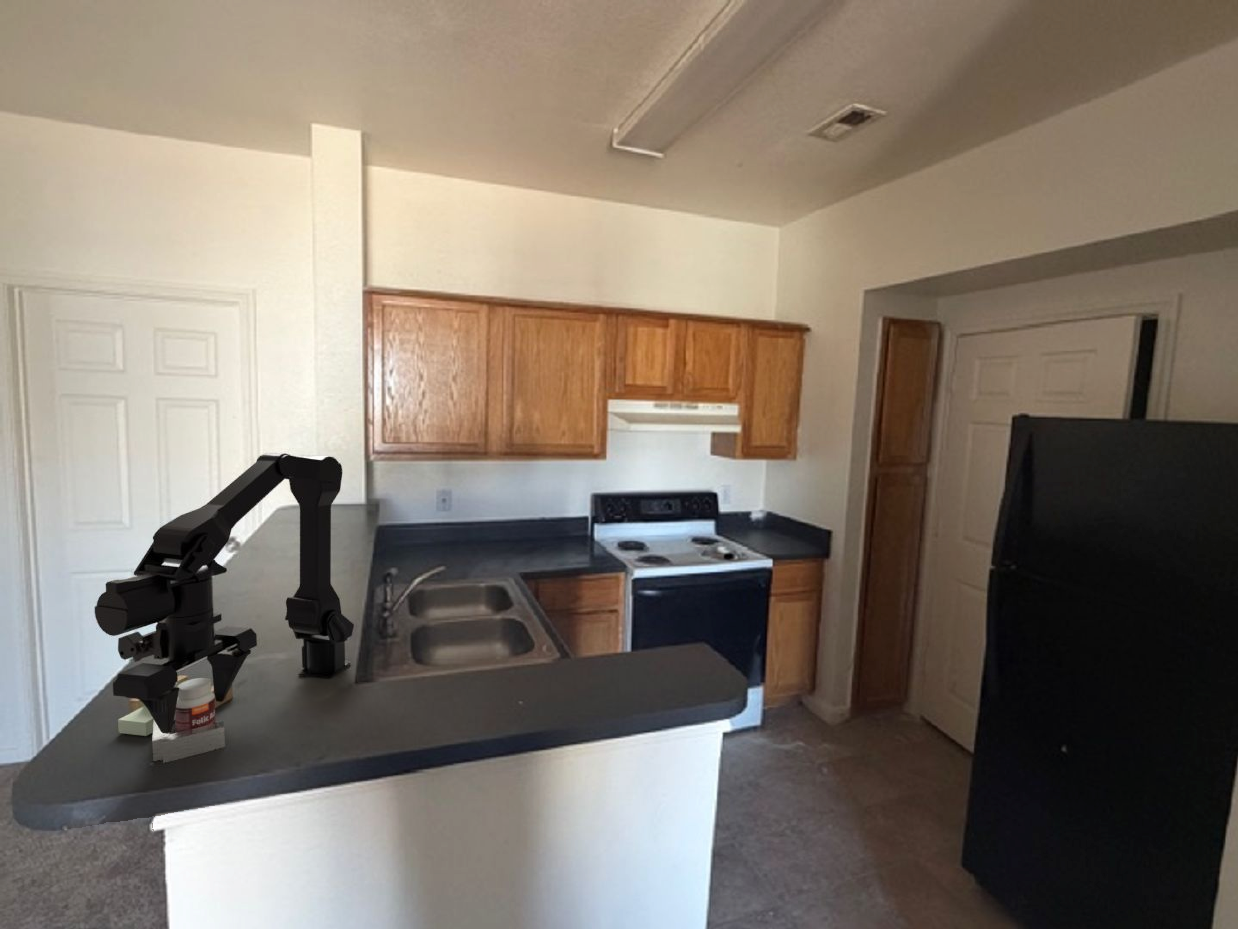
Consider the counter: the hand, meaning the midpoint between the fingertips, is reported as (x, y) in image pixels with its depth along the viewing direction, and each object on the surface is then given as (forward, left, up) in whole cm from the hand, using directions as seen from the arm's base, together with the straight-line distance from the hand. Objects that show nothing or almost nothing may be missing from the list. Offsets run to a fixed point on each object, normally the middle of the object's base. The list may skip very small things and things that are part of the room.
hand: (194, 716), depth 87 cm
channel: (+10, -8, -4) cm, 13 cm away
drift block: (+10, -2, -3) cm, 10 cm away
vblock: (0, +3, -4) cm, 4 cm away
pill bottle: (0, 0, -4) cm, 4 cm away
